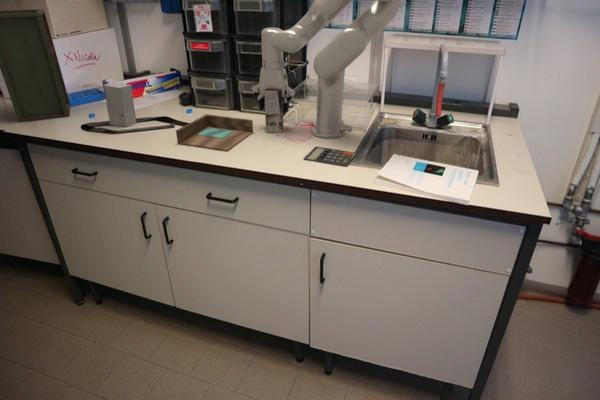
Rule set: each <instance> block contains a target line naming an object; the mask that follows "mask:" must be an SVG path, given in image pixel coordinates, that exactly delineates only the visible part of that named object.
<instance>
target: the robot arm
mask: <svg viewBox="0 0 600 400" xmlns="http://www.w3.org/2000/svg"><path fill="white" fill-rule="evenodd" d="M358 1H361V2H363V1H364V2H365V1H366V2H368V1H369V2H370V1H371V2H372V3H371V4H370V5H369V6H368V7H367V8H366V9H365V10H364V11H362V13H361V14H360V15H358V17H357V18H355V20H354V21H352V22H351V23H350V24H348V25H347V26H345V27H344V28H343V29H342V30H341V31H340V32H339V33H338V34H337V35H336V36H335V37H334V38H333V39H332V40H331V41H330V42H329V43H327V44H326V45H325V46H324V47H323V48H322V49H320V51H319V52H318V53H317V54H316V55H315V57H314V59H313V65H312V66H313V70H314V71H313V72H314V73H315V75H316V76H317V80H316V81H317V83H316V85H317V87H316V116H315V117H316V119H315V120H316V122H315V123H316V124H315V126H314V127H312V129H311V133H312V134H313V135H314V136H315V137H318V138H323V139H336V138H341V137H343V136H345V134H346V132H347V133H352V131H353V126H352V125H351V124H345V122H344V121H345V120H342V119H343V117H342V116H343V103H344V85H345V72H346V69H347V68H348V67H349V66H350V65H351V64H352V63H354V62H355V61H356V60H357V59H358V58H359V57H360V56H361V55H362V54H363V53H364V52H365V51H366V49H367V46H368V45H369V44H370V43H371V42H372V40H374V39H375V38H376V37H377V36H378V35H379V34H380V33H381V32H382V31H383V30H384V29H386V27H387V26H389V24H390V23H391V22H393V20H394V19H395V17H396V16H397V15H398V12H399V10H400V8H401V4H402V3H403V0H357V2H358ZM352 2H354V0H314V1H313V3H312V4H311V7H310V9H309V10H308V11H306V14H304V16H302V17H301V19H300V20H298V22H296V23H295V25H293V26H292V27H291V28H289V29H284V30H283V29H281V28H279V27H265V28H263V29H262V30H261V53H262V55H261V57H262V58H261V59H262V62H261V65H262V67H261V68H260V71H259V73H260V74H259V83H257V84H255V85H253V86H251V90H252V93H253V94H254V96H255V97H256V98H257V100H258V107H259V111H262V110H265V89H277V90H282V100H283V114H286V113H288V111H289V109H290V108H289V106H290V105H289V102H290V101H291V100H292V99H294V96H295V94H296V91H295V90H294V89H292V87H290V86H289V83H288V74H287V70H286V68H285V67H287V66H288V63H287V62H285V60H284V52H285V53H290V54H291V53H296V52H299V50H301V49H302V48H303V47H304V46H306V45H307V44H308V43H309V42H310V41H311V40H312V39H313V38H314V37H315V36H316V35H317V34H318V33H319V32H321V31H322V30H323V29H324V28H325V27H326V26H328V25H329V24H330V23H332V22H333V20H335V19H336V18H337V16H339V15H340V14H341V13H342V12H343V11H344V10H345V9H346V8H347V7H348V6H349V5H351V3H352ZM258 89H259V91H258ZM288 94H289V96H288Z"/></svg>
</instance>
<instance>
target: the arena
mask: <svg viewBox="0 0 600 400" xmlns="http://www.w3.org/2000/svg"><path fill="white" fill-rule="evenodd" d="M253 123H254V122H253V119H248V118H238V117H233V116H222V115H215V114H214V115H213V114H208V113H206V114H205V115H202V116H200V117H199V118H196V119H195V120H193V121H190V122H189V123H187V124H186V125H183V126H182V127H180V128H178V129H176V130H175V133H176V134H175V135H176V140H177V144H178V145H183V146H189V147H195V148H202V149H209V150H213V151H221V152H229V151H230V150H232V149H233V148H234V147H236V146H237V145H239V144H240V143H241V142H243V141H244V140H245V139H246V138H248V137H249V136H251V135H252V134H253V133H254V124H253Z"/></svg>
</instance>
